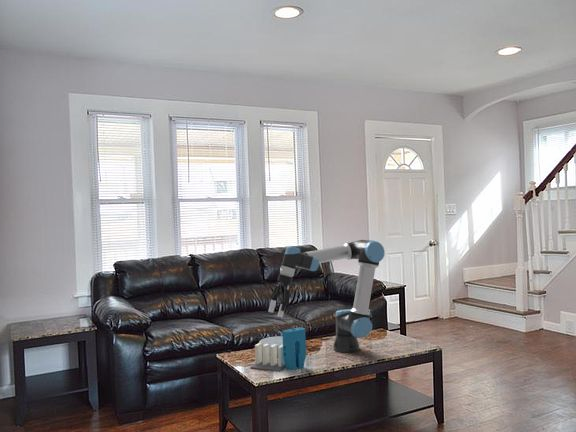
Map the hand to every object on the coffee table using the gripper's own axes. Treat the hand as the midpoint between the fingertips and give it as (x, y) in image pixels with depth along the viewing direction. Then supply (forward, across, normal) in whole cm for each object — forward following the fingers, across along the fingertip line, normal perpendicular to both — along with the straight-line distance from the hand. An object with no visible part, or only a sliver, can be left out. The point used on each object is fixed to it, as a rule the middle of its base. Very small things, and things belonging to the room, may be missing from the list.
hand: (275, 314), depth 268 cm
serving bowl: (+23, -27, +19) cm, 40 cm away
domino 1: (+28, -10, +3) cm, 30 cm away
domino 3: (+26, -4, +9) cm, 27 cm away
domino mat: (+27, -5, +8) cm, 28 cm away
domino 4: (+25, 0, +12) cm, 27 cm away
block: (+24, +5, +17) cm, 30 cm away
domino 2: (+27, -7, +6) cm, 28 cm away
